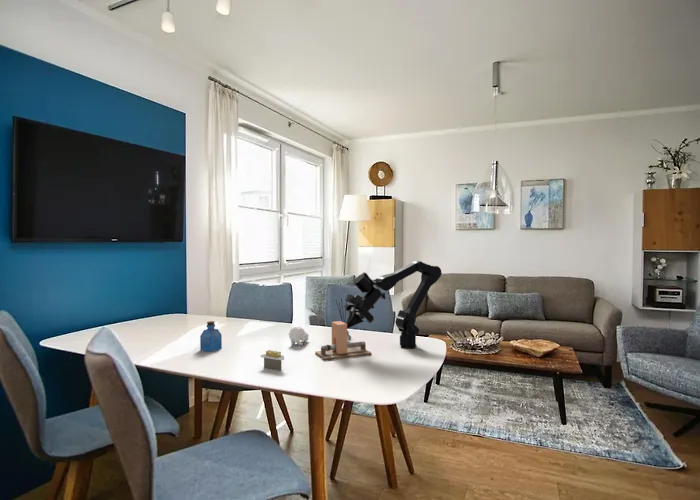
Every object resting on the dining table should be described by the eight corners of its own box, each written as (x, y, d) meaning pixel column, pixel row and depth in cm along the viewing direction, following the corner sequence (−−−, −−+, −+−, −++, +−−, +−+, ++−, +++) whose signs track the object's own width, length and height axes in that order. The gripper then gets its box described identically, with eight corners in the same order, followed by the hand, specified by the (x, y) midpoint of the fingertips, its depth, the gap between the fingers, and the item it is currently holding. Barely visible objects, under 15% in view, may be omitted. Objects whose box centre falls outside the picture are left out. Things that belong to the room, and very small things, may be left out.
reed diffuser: (344, 344, 192) (344, 300, 191) (330, 342, 195) (330, 299, 194) (353, 339, 201) (353, 297, 200) (340, 337, 204) (340, 296, 203)
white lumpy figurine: (288, 326, 189) (301, 323, 200) (287, 345, 189) (300, 341, 200) (300, 327, 187) (312, 324, 198) (299, 346, 186) (312, 343, 197)
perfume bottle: (200, 350, 181) (200, 322, 181) (211, 347, 187) (211, 320, 187) (210, 352, 179) (210, 323, 178) (221, 348, 184) (221, 321, 184)
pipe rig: (360, 348, 183) (360, 337, 183) (371, 355, 173) (371, 343, 173) (315, 353, 175) (315, 342, 175) (324, 360, 165) (324, 348, 165)
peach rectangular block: (340, 349, 177) (340, 321, 177) (347, 353, 171) (347, 324, 170) (331, 350, 176) (331, 321, 175) (338, 354, 169) (337, 324, 169)
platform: (265, 362, 165) (265, 345, 165) (303, 368, 156) (303, 350, 156) (244, 370, 154) (244, 352, 154) (283, 377, 146) (283, 359, 146)
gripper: (348, 285, 184) (324, 311, 180) (366, 289, 167) (341, 319, 163) (364, 302, 188) (341, 328, 183) (384, 308, 171) (359, 337, 166)
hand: (345, 328), depth 174 cm, fingers closed
